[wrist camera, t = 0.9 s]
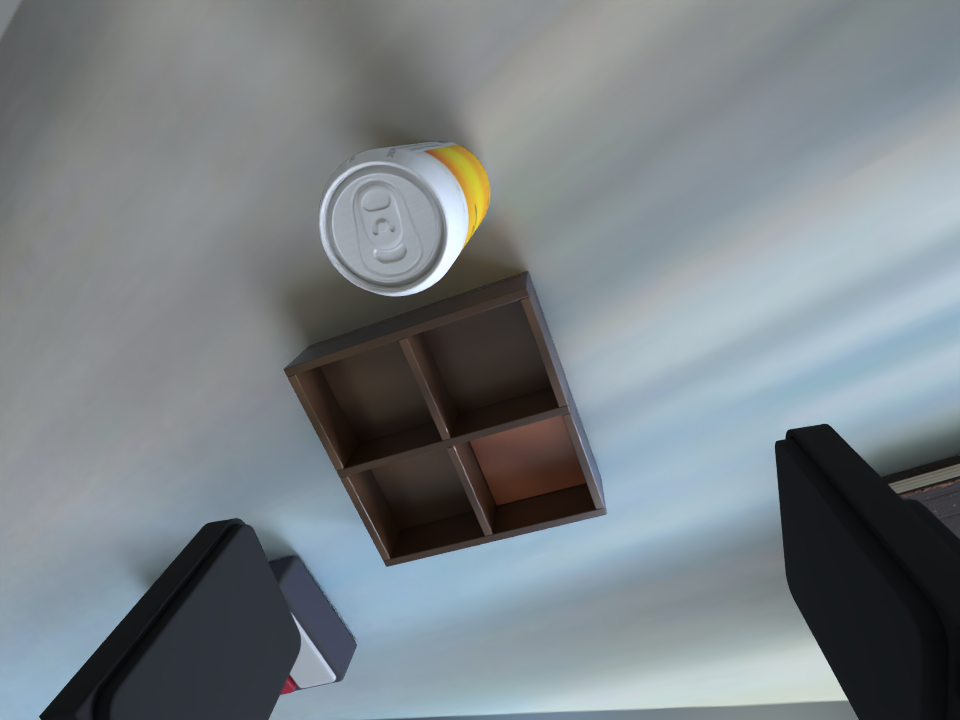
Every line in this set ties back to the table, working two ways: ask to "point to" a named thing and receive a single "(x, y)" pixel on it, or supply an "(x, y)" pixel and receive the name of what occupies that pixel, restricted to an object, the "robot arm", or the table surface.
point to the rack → (452, 423)
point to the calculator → (313, 629)
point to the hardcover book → (933, 489)
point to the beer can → (402, 214)
